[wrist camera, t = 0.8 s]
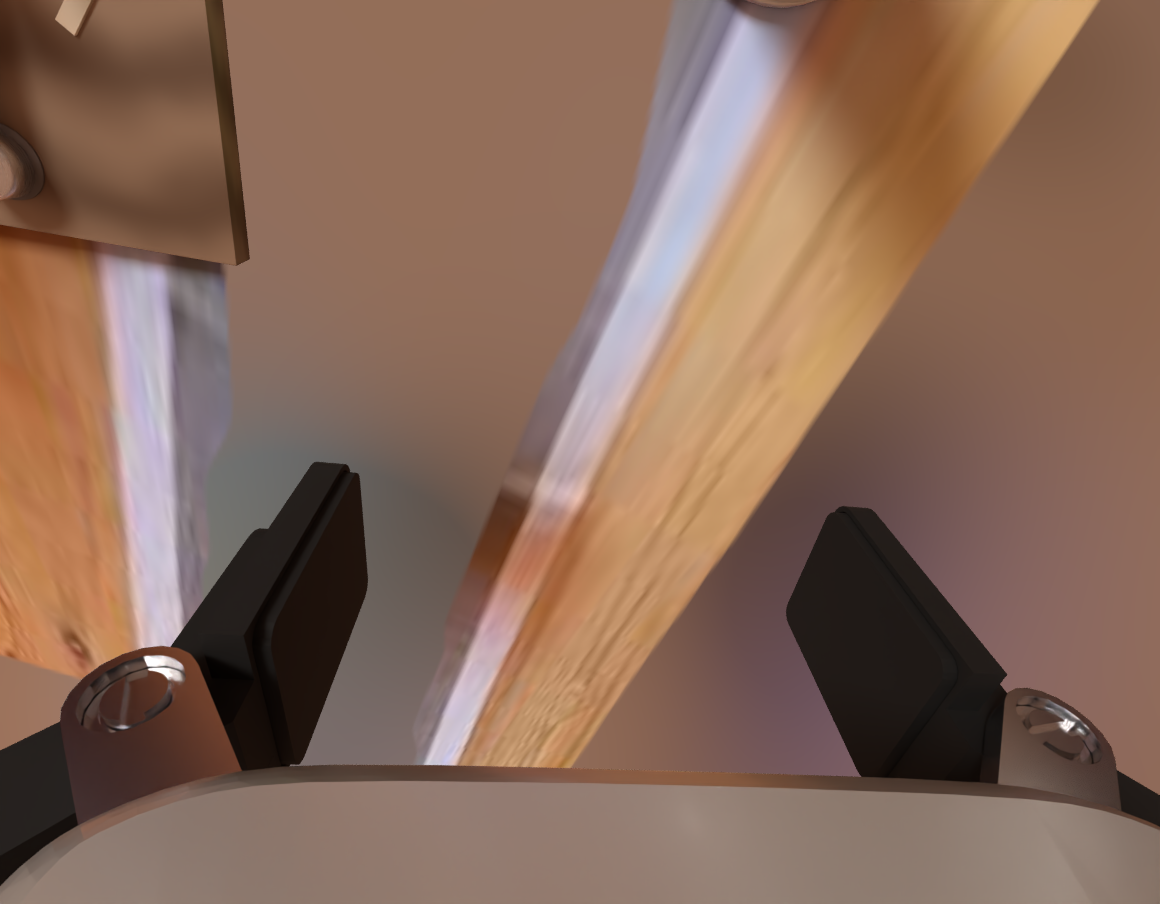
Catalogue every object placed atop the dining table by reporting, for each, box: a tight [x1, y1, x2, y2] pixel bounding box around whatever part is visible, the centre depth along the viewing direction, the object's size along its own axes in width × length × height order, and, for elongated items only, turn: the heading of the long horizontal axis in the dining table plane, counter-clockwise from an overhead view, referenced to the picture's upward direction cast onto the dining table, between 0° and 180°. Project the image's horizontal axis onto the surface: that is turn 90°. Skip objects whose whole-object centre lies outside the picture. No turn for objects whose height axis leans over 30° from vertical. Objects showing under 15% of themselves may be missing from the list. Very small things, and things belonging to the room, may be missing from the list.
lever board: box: [0, 0, 250, 266], centre depth 32 cm, size 22×19×2 cm
